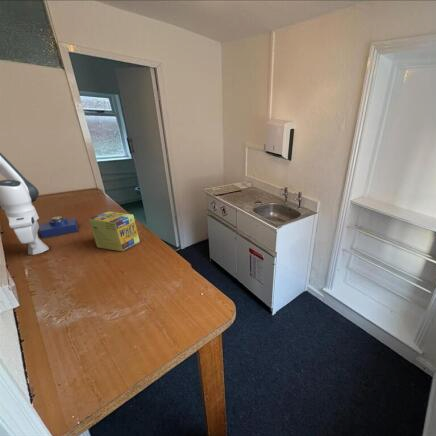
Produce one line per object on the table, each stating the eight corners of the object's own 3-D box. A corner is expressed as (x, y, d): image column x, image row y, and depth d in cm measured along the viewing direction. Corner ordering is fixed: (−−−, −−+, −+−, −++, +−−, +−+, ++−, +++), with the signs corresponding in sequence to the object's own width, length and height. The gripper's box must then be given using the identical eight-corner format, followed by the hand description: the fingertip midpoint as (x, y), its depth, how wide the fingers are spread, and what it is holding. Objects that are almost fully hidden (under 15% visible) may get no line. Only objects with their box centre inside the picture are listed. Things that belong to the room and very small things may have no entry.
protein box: (123, 251, 111) (115, 222, 105) (96, 247, 114) (87, 218, 108) (140, 241, 121) (134, 214, 115) (115, 237, 123) (107, 210, 117)
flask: (45, 245, 114) (37, 227, 110) (52, 249, 111) (44, 230, 107) (24, 252, 108) (15, 233, 104) (31, 256, 105) (22, 237, 101)
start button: (52, 222, 125) (51, 219, 124) (53, 220, 127) (52, 217, 127) (62, 220, 127) (61, 218, 126) (63, 218, 130) (61, 215, 129)
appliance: (42, 238, 120) (37, 227, 118) (44, 230, 128) (40, 220, 125) (77, 231, 128) (74, 221, 126) (78, 224, 136) (74, 215, 134)
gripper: (17, 211, 108) (29, 237, 113) (7, 226, 93) (22, 255, 99) (36, 208, 111) (47, 234, 117) (30, 223, 97) (42, 251, 103)
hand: (35, 244), depth 108 cm, fingers closed on flask, 5 cm apart
